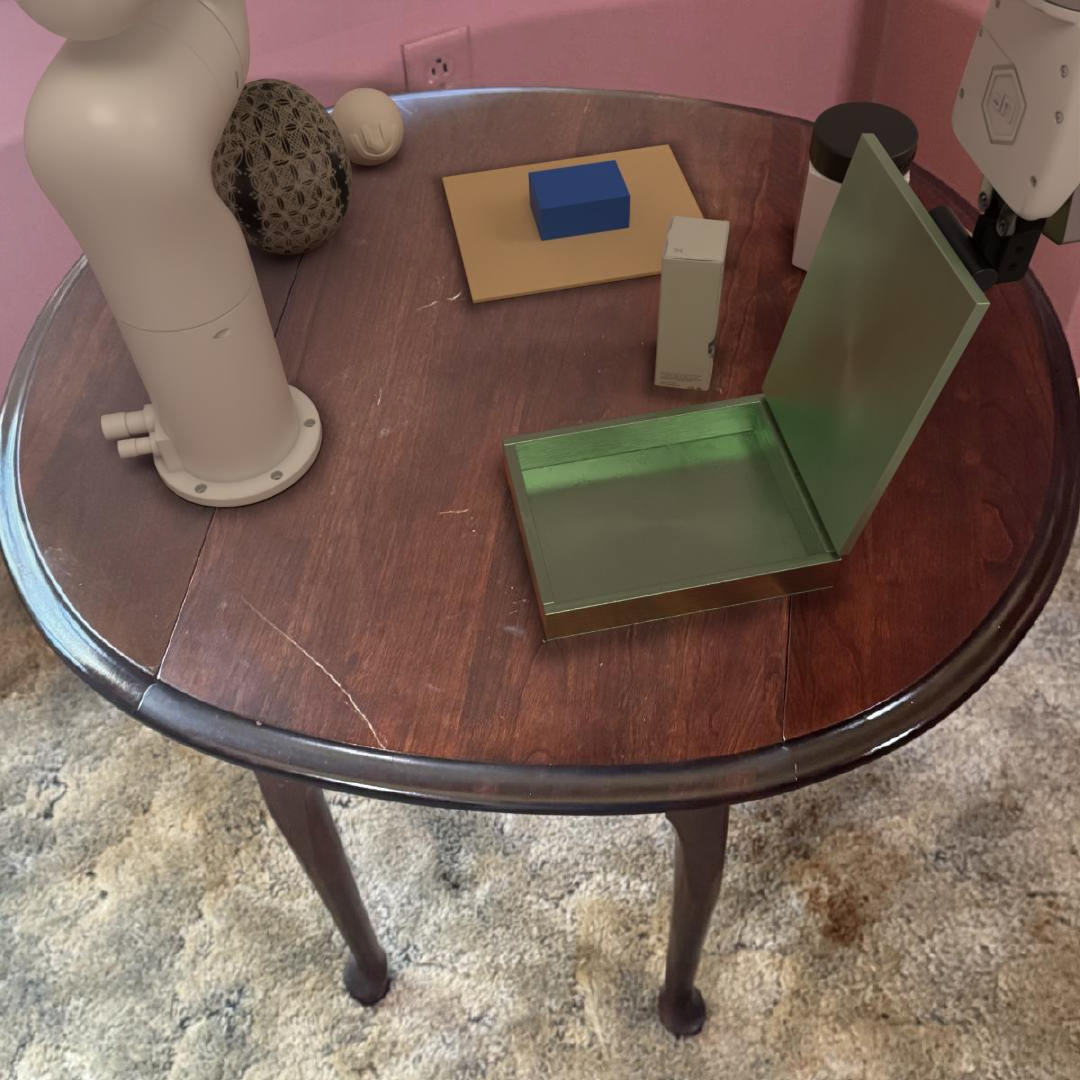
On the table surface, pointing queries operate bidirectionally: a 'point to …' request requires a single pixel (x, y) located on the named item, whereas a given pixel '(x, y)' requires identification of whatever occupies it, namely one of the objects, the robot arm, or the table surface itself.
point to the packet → (579, 200)
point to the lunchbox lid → (872, 338)
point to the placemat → (541, 266)
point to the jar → (844, 163)
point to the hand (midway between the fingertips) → (991, 275)
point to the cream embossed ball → (368, 125)
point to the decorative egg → (282, 168)
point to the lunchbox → (664, 516)
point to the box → (690, 301)
